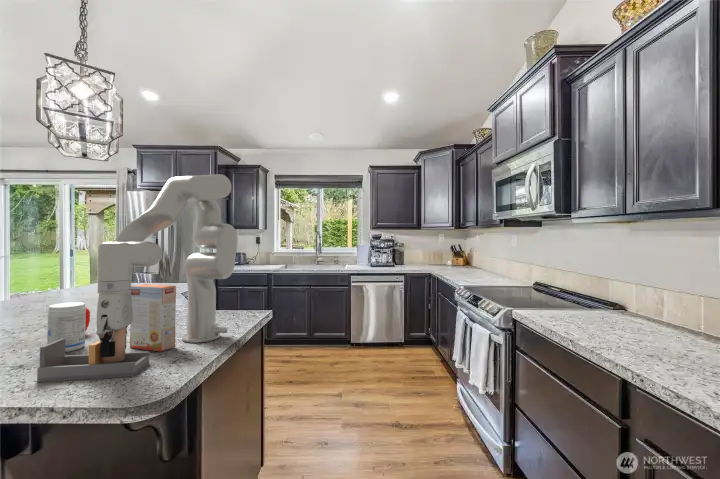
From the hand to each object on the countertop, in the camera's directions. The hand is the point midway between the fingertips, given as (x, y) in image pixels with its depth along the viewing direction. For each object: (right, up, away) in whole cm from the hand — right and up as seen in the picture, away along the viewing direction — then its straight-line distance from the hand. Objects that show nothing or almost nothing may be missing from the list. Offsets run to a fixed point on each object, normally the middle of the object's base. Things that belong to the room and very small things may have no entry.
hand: (113, 352), depth 93 cm
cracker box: (-2, -6, +21) cm, 22 cm away
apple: (-39, -5, +34) cm, 52 cm away
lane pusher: (-3, -4, -1) cm, 5 cm away
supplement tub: (-29, -5, +19) cm, 35 cm away
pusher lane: (-4, -5, -1) cm, 7 cm away
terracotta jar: (0, -2, 0) cm, 2 cm away
